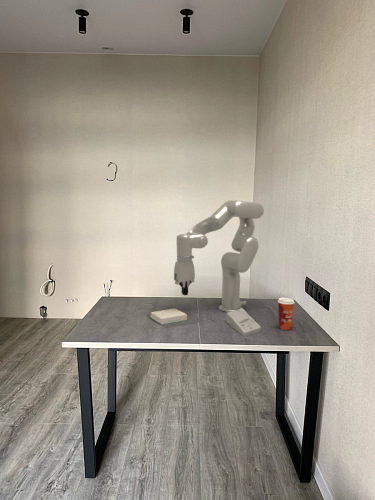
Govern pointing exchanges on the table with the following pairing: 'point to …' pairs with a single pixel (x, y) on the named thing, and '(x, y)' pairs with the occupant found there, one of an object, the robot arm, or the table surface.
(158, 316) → the tile
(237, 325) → the ramp
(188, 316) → the mat
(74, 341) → the table surface
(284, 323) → the paper cup
